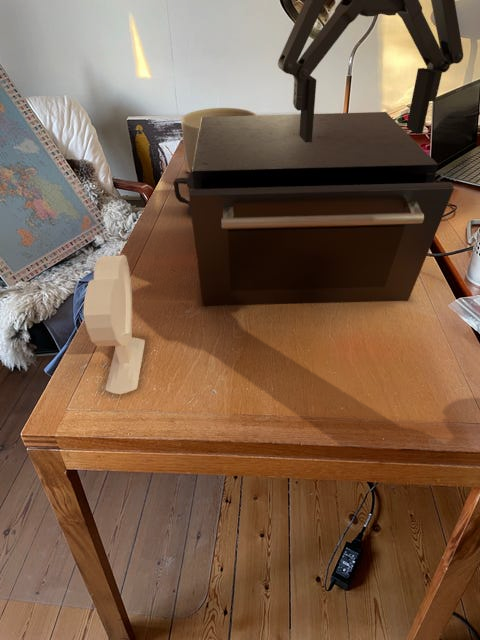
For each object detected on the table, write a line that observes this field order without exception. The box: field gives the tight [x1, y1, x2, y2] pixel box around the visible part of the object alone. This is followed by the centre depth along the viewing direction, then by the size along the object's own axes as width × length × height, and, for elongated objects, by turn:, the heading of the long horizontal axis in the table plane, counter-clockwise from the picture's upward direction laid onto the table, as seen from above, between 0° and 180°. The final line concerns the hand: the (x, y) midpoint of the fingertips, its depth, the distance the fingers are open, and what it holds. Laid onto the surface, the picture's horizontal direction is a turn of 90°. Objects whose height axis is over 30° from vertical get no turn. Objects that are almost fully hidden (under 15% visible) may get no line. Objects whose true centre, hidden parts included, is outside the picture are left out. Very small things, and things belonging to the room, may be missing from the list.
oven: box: [192, 111, 439, 189], centre depth 95 cm, size 32×40×26 cm
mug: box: [173, 169, 193, 217], centre depth 119 cm, size 12×9×11 cm
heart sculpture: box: [83, 254, 146, 395], centre depth 71 cm, size 16×5×18 cm, turn 3°
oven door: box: [188, 181, 455, 307], centre depth 78 cm, size 5×40×26 cm, turn 91°
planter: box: [180, 107, 258, 171], centre depth 130 cm, size 21×21×19 cm
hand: (360, 135), depth 55 cm, fingers open, 13 cm apart
